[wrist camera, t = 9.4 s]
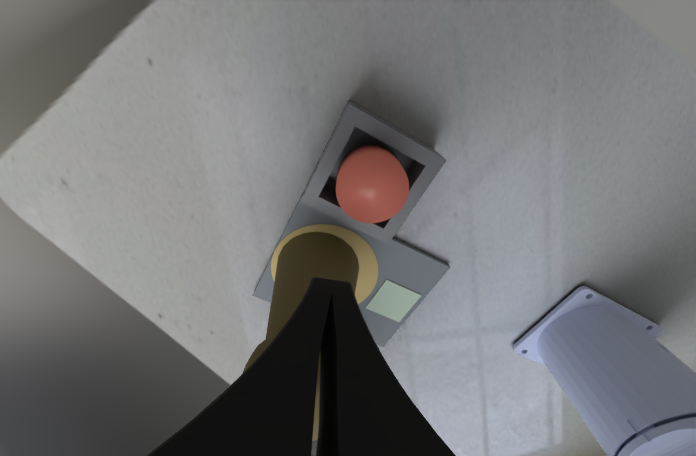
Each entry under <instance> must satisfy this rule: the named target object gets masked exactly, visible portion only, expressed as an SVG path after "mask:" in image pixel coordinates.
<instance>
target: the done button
mask: <svg viewBox="0 0 696 456" xmlns="http://www.w3.org/2000/svg"><path fill="white" fill-rule="evenodd" d="M408 194H409V181H408V177H407V175H406V172H405V170H404V169H403V167H402V165H401V164H400V162H399V160H398V159H397V157H396V156H395V154H394V153H393V152H392V151H390V150H389V149H388V148H386V147H384V146H381V145H378V144H364V145H360V146H357V147H355V148H353V149H352V150H351V151H349V152H348V153H347V154H346V155H345V156H344V158H343V159H342V161H341V163H340V165H339V168H338V174H337V182H336V196H337V200H338V203H339V205H340V207H341V208H342V209H343V211H344V212H345V213H346V214H347V215H348V216H350V217H351V218H353V219H355V220H357V221H360V222H364V223H378V222H382V221H386V220H388V219H390V218H391V217H393V216H394V215H396V214H397V213H398V212H399V211H400V210H401V209H402V207H403V206H404V204H405V202H406V200H407V197H408Z"/></svg>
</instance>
